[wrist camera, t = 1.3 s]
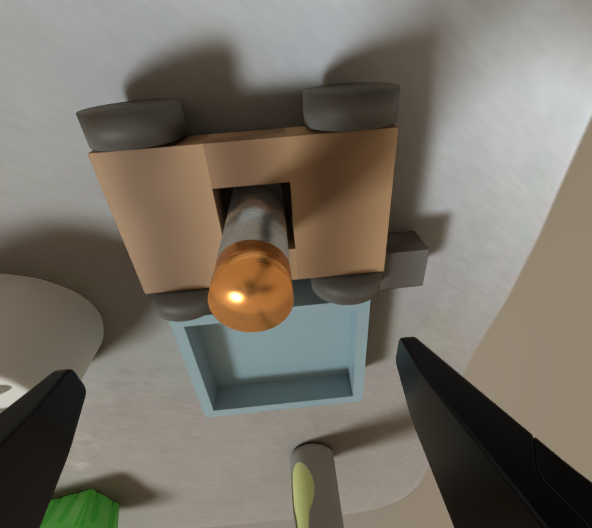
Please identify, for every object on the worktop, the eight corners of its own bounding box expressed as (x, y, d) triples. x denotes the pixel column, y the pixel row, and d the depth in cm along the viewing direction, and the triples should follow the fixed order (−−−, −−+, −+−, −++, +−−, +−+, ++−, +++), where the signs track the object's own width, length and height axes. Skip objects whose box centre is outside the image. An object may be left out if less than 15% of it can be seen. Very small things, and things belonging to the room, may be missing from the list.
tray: (359, 272, 24) (370, 299, 21) (354, 371, 30) (362, 401, 27) (178, 289, 23) (168, 318, 21) (211, 386, 29) (205, 417, 27)
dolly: (438, 75, 17) (485, 83, 13) (409, 265, 24) (435, 305, 20) (101, 103, 17) (55, 119, 13) (168, 288, 23) (149, 333, 20)
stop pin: (280, 168, 19) (290, 262, 11) (284, 215, 21) (296, 328, 12) (229, 173, 19) (198, 271, 11) (237, 219, 21) (217, 336, 12)
